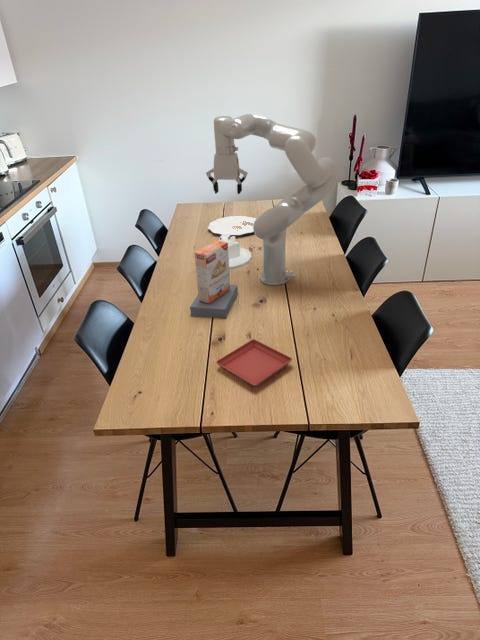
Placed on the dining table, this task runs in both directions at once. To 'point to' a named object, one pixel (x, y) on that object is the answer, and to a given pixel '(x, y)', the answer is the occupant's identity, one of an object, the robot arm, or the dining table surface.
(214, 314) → the base block
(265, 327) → the dining table surface
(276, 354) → the plant saucer
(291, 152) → the robot arm
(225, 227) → the plate
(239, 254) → the dish
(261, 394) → the dining table surface
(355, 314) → the dining table surface
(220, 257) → the cracker box
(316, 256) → the dining table surface
